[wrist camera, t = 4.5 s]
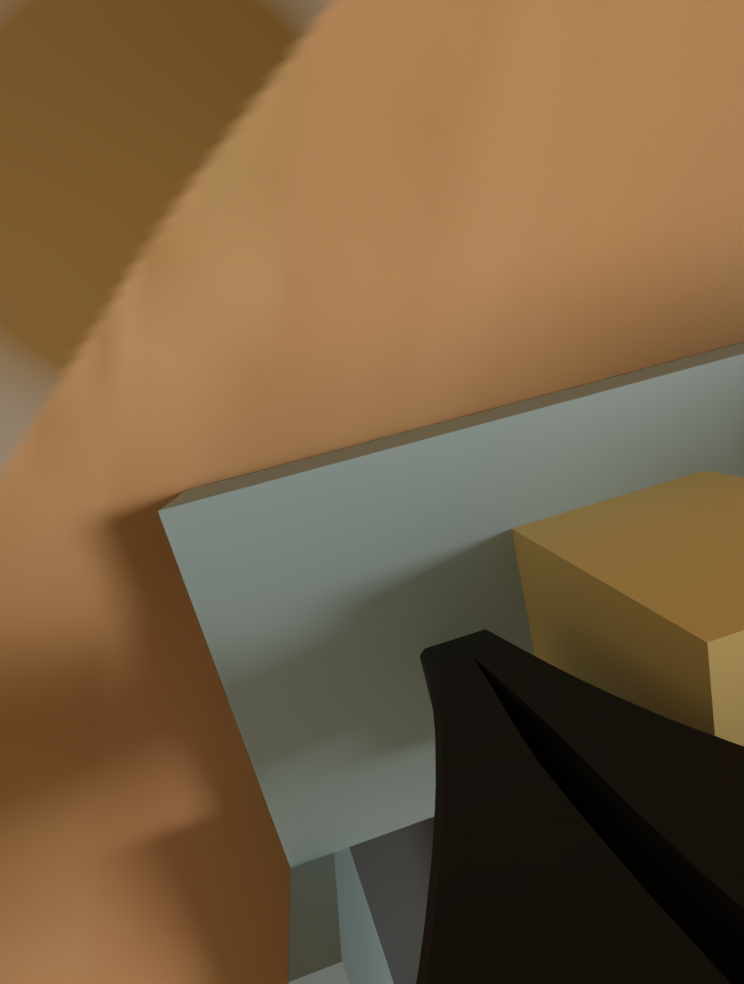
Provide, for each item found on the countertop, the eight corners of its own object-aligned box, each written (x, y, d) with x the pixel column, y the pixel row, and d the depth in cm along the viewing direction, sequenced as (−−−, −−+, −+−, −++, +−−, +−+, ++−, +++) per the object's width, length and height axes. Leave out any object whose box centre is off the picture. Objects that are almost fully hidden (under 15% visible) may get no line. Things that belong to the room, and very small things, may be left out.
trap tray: (833, 318, 12) (1102, 274, 8) (835, 971, 17) (993, 1138, 13) (185, 490, 10) (111, 545, 6) (420, 1156, 15) (461, 1411, 11)
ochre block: (703, 470, 10) (1047, 525, 5) (718, 650, 11) (1013, 823, 6) (511, 528, 9) (707, 642, 5) (545, 710, 10) (731, 943, 6)
